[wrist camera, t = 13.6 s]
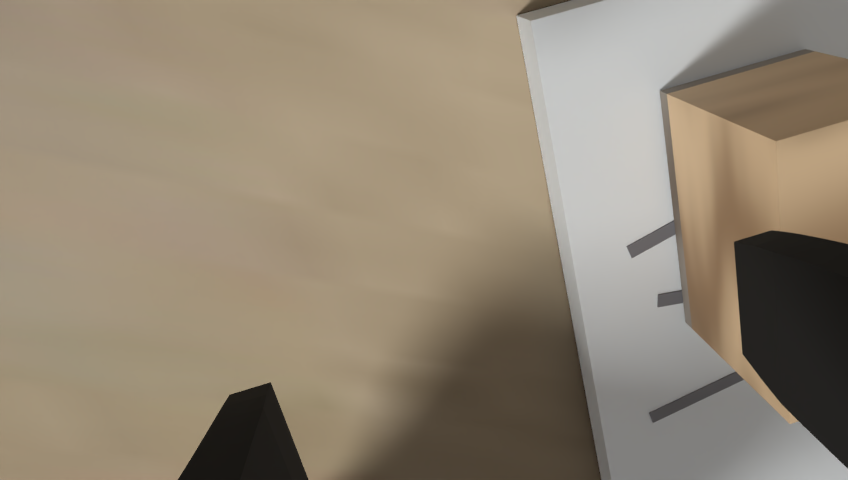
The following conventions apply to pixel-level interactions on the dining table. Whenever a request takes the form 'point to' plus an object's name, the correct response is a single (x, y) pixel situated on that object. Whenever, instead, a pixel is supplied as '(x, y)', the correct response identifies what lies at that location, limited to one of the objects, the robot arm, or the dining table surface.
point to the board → (655, 228)
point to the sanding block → (753, 178)
